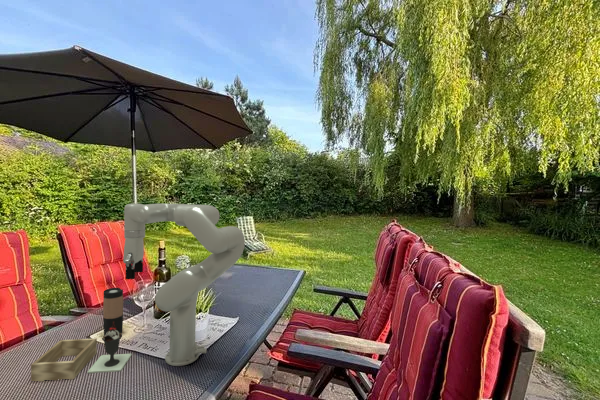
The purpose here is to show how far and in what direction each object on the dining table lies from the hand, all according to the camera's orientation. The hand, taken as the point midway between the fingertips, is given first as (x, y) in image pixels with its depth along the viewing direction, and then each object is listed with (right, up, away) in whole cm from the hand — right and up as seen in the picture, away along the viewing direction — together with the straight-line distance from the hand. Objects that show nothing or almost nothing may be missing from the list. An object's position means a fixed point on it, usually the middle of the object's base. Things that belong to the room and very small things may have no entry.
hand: (134, 275), depth 130 cm
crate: (-18, -30, -13) cm, 38 cm away
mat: (-3, -31, -11) cm, 33 cm away
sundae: (-3, -30, -11) cm, 33 cm away
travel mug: (-16, -30, +12) cm, 36 cm away
